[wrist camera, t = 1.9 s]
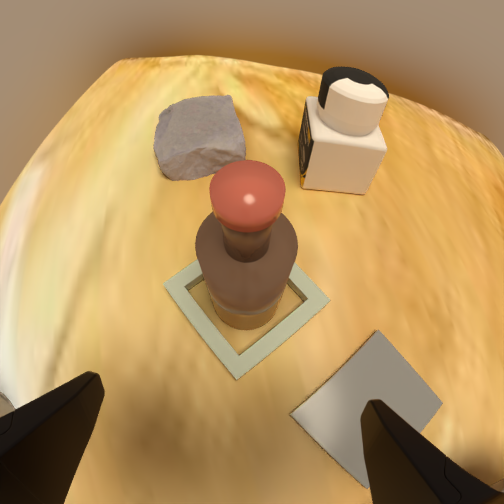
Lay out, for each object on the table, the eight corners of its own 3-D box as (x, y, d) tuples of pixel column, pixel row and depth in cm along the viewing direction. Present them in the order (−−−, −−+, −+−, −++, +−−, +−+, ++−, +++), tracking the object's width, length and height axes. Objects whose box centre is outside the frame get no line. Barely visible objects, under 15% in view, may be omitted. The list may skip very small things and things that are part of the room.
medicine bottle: (297, 143, 32) (313, 54, 22) (354, 150, 32) (383, 68, 22) (300, 189, 29) (323, 90, 18) (365, 196, 29) (408, 108, 18)
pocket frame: (237, 380, 21) (236, 379, 20) (166, 288, 24) (162, 283, 23) (326, 304, 24) (330, 300, 23) (253, 227, 27) (253, 220, 26)
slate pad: (364, 487, 16) (367, 489, 16) (289, 413, 20) (290, 414, 19) (439, 403, 19) (442, 403, 19) (375, 330, 23) (378, 329, 22)
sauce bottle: (240, 343, 22) (235, 277, 10) (200, 293, 24) (156, 181, 11) (291, 302, 24) (342, 197, 11) (250, 256, 26) (255, 127, 13)
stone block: (167, 198, 31) (255, 169, 30) (148, 170, 26) (246, 136, 26) (165, 134, 36) (235, 110, 36) (151, 108, 32) (226, 82, 31)
